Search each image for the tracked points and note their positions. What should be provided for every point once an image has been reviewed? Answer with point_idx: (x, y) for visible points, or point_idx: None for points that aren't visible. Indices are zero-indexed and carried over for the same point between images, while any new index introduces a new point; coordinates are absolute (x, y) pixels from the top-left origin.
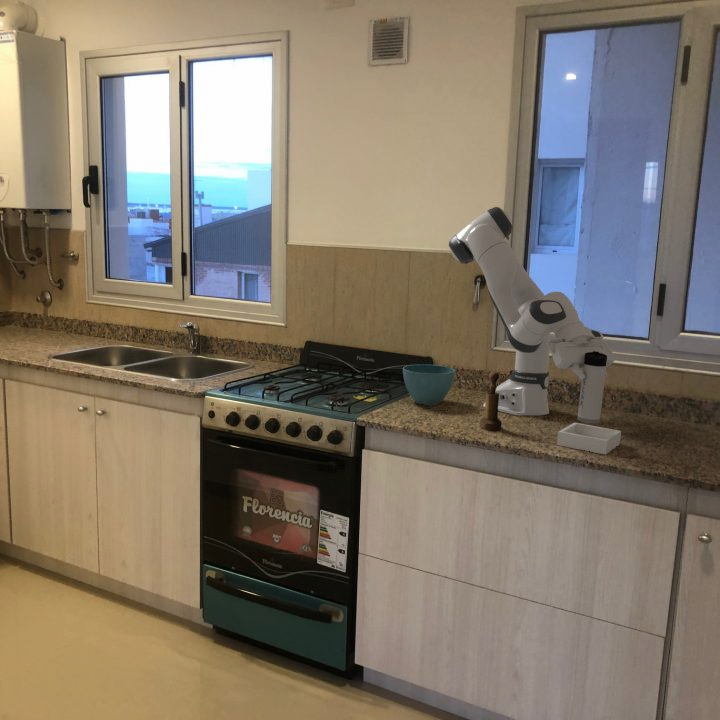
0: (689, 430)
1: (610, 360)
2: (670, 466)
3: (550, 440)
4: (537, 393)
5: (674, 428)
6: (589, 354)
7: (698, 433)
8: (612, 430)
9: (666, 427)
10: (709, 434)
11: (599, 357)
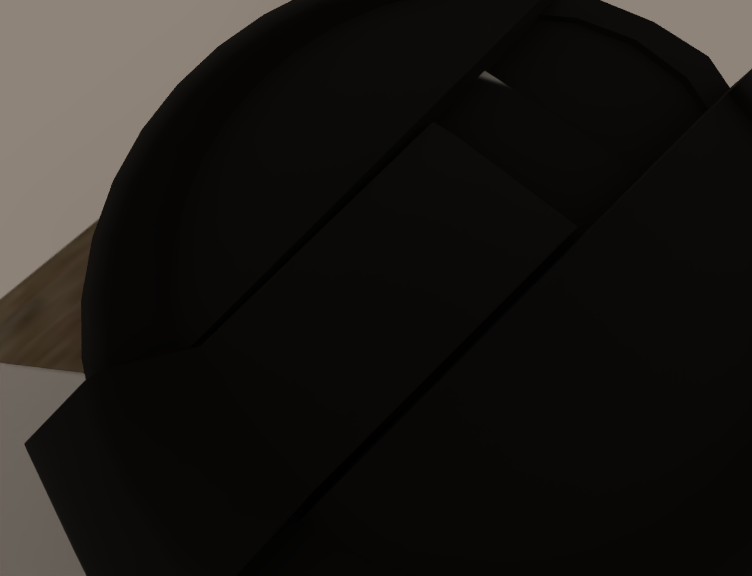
0: (50, 319)
1: (16, 365)
2: None
3: None
4: None
5: (62, 351)
6: (426, 551)
7: (57, 289)
8: None
9: (70, 368)
10: (45, 272)
11: (460, 76)
